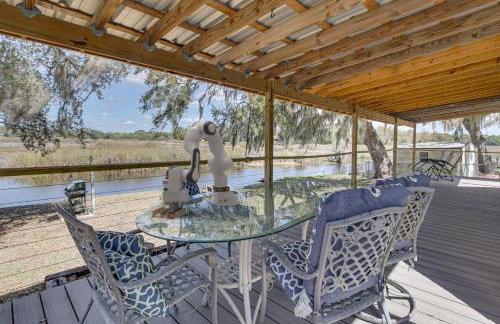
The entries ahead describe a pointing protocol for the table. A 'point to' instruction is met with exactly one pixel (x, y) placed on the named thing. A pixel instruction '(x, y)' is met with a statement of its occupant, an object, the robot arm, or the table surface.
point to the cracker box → (165, 184)
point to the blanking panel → (175, 207)
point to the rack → (168, 213)
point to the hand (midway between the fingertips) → (176, 207)
